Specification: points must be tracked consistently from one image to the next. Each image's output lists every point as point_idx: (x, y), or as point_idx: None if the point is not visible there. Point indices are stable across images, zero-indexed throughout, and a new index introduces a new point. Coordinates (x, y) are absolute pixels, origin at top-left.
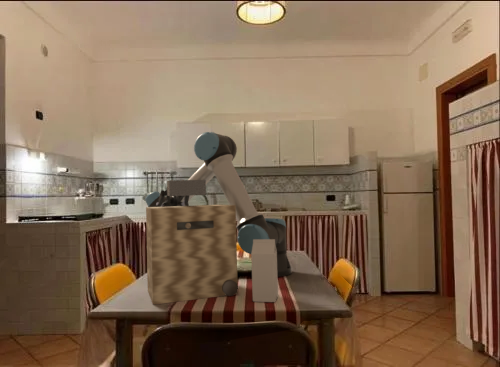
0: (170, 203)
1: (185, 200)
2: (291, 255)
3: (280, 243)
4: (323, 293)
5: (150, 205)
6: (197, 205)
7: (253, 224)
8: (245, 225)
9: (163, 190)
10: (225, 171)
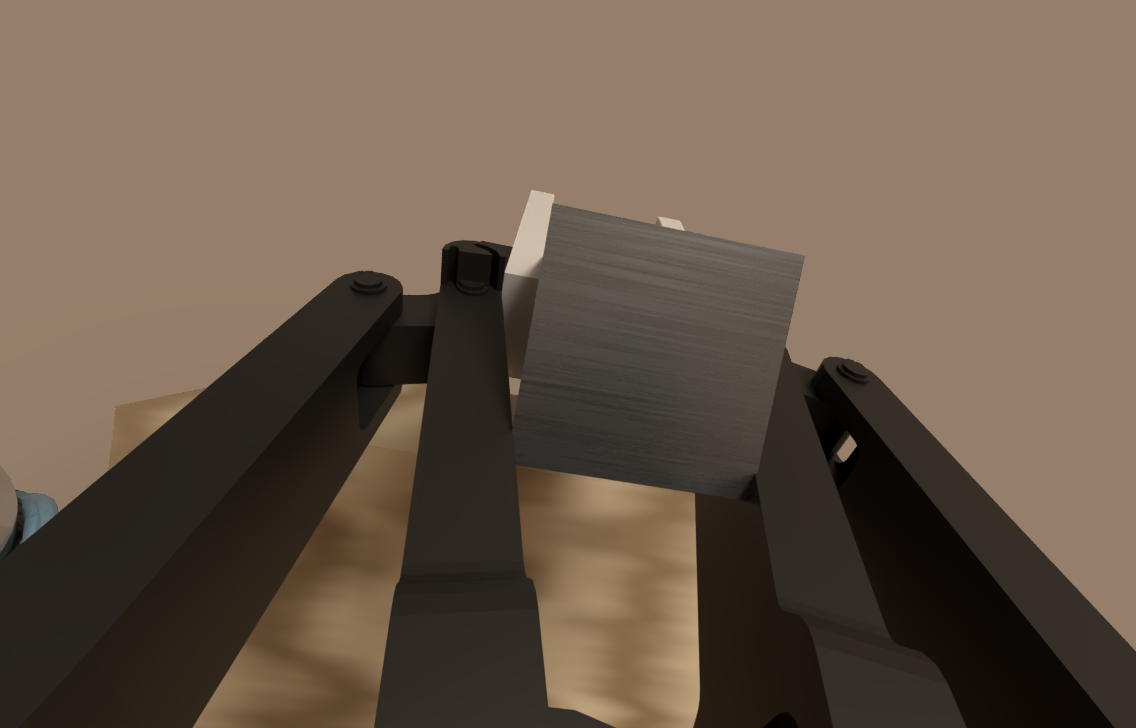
0: (698, 724)
1: (299, 549)
2: None
3: None
4: None
5: None
6: (393, 437)
7: (22, 491)
8: (44, 518)
9: (826, 359)
10: None
